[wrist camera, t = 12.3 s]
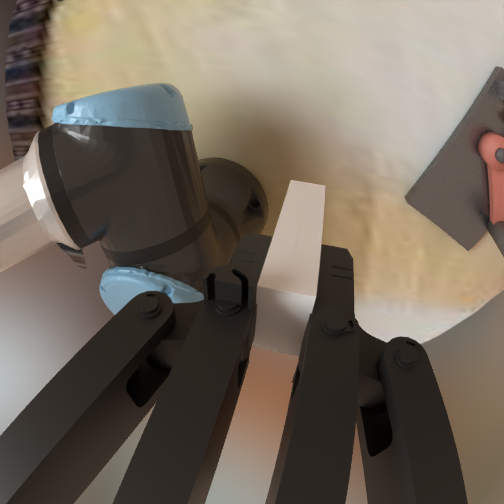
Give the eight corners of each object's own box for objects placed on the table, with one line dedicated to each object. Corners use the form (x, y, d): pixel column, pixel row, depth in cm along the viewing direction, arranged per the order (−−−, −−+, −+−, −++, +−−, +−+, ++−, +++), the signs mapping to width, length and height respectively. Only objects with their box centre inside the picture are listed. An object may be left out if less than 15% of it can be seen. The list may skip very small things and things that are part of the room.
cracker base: (465, 245, 39) (476, 267, 35) (404, 197, 38) (413, 217, 33) (554, 128, 23) (575, 140, 18) (500, 58, 21) (522, 62, 17)
